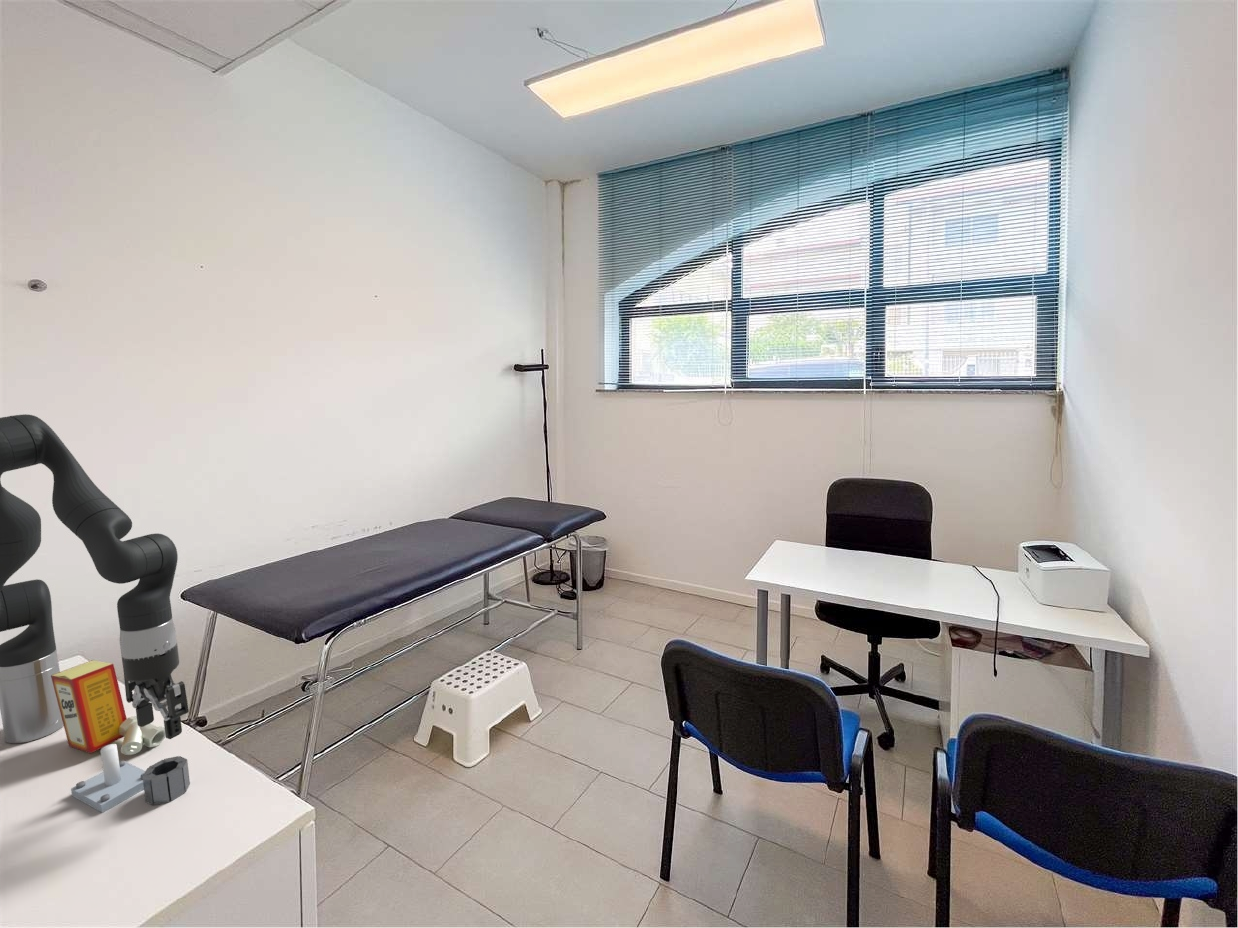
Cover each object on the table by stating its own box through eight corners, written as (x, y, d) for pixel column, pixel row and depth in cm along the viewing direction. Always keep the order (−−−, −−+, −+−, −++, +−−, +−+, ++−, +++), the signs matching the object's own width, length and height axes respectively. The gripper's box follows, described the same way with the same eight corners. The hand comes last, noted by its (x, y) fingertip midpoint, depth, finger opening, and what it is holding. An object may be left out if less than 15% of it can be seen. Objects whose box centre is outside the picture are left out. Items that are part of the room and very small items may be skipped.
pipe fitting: (132, 763, 108) (166, 740, 114) (132, 747, 107) (166, 724, 113) (100, 749, 109) (136, 727, 116) (100, 733, 108) (136, 712, 115)
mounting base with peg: (71, 795, 99) (65, 753, 98) (125, 767, 106) (119, 728, 105) (102, 812, 95) (96, 769, 94) (155, 782, 103) (150, 741, 101)
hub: (139, 798, 99) (136, 773, 98) (176, 776, 104) (173, 753, 103) (159, 808, 96) (156, 783, 96) (196, 785, 102) (193, 761, 101)
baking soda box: (68, 745, 112) (50, 673, 111) (108, 727, 118) (91, 658, 116) (90, 752, 108) (71, 677, 107) (130, 733, 114) (112, 662, 112)
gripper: (100, 648, 95) (112, 732, 98) (148, 664, 90) (159, 753, 92) (150, 630, 102) (160, 709, 104) (197, 645, 97) (207, 727, 99)
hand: (160, 730), depth 98 cm, fingers open, 8 cm apart
